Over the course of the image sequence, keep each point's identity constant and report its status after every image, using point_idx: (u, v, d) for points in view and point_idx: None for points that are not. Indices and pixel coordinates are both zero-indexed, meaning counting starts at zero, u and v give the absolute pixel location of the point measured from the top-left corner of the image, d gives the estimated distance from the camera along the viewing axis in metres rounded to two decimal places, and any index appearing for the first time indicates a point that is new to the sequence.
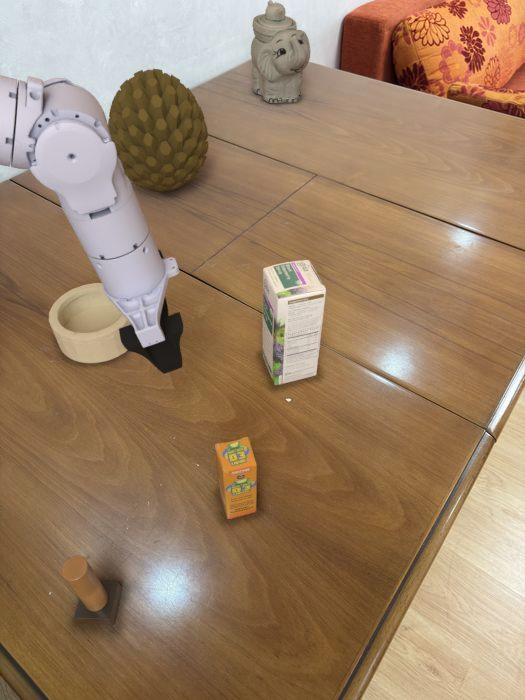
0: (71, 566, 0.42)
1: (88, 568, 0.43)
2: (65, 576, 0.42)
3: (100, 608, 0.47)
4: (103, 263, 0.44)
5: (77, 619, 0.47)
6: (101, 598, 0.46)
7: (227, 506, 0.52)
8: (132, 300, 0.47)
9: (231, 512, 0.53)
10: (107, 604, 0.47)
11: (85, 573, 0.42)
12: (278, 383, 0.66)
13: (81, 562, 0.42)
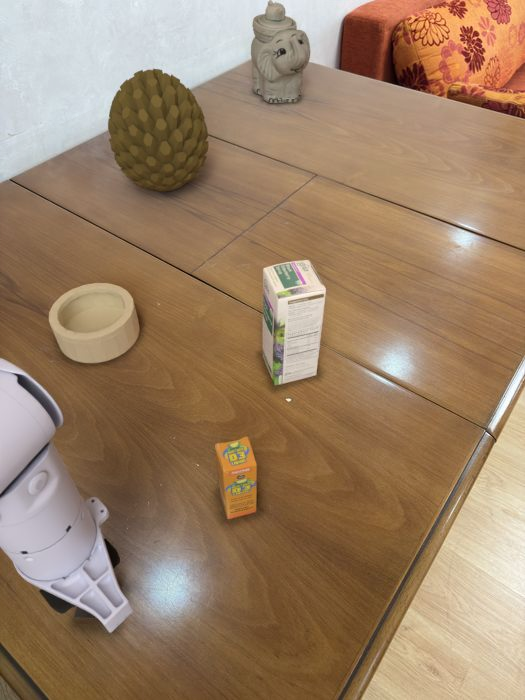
0: None
1: None
2: None
3: None
4: (36, 555, 0.34)
5: (77, 619, 0.47)
6: None
7: (227, 506, 0.52)
8: (71, 576, 0.37)
9: (231, 512, 0.53)
10: None
11: None
12: (278, 383, 0.66)
13: None
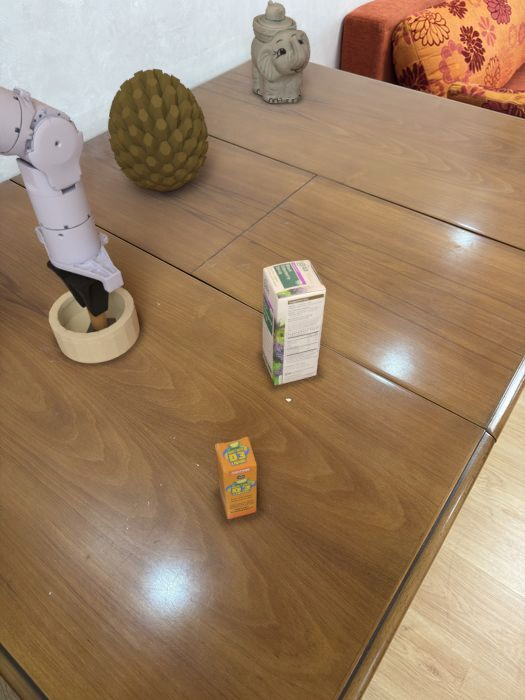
0: None
1: None
2: None
3: (103, 328, 0.70)
4: (65, 232, 0.57)
5: None
6: (104, 319, 0.69)
7: (227, 506, 0.52)
8: (85, 263, 0.60)
9: (231, 512, 0.53)
10: None
11: None
12: (278, 383, 0.66)
13: None
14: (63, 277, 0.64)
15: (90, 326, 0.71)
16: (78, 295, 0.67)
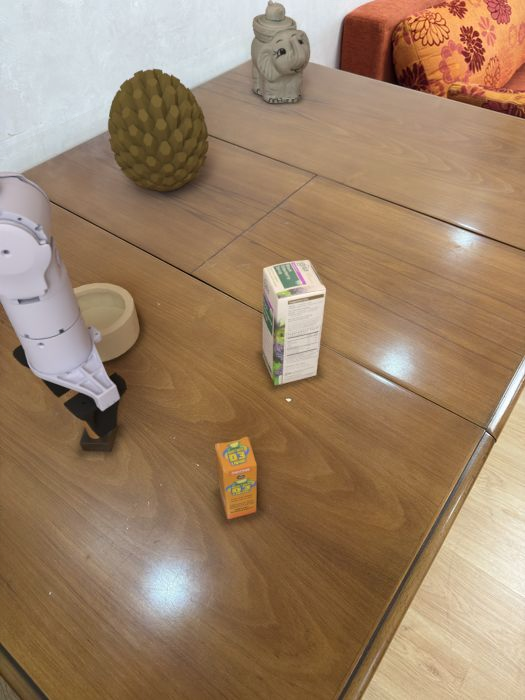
0: None
1: None
2: (73, 395, 0.54)
3: None
4: (47, 342, 0.45)
5: (82, 444, 0.59)
6: None
7: (227, 506, 0.52)
8: (72, 372, 0.48)
9: (231, 512, 0.53)
10: None
11: None
12: (278, 383, 0.66)
13: None
14: None
15: (85, 432, 0.60)
16: (52, 385, 0.56)
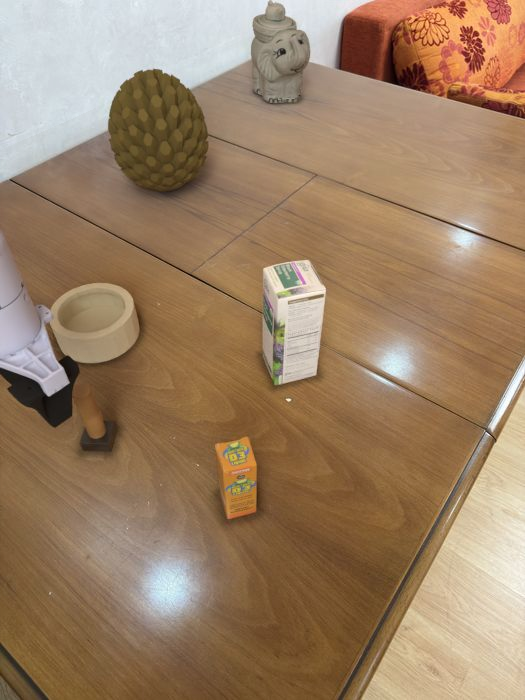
0: (77, 389, 0.55)
1: (91, 391, 0.55)
2: (73, 395, 0.54)
3: (100, 436, 0.59)
4: None
5: (82, 444, 0.59)
6: (101, 426, 0.59)
7: (227, 506, 0.52)
8: (17, 354, 0.44)
9: (231, 512, 0.53)
10: (105, 434, 0.60)
11: (88, 394, 0.54)
12: (278, 383, 0.66)
13: (85, 386, 0.55)
14: None
15: (85, 432, 0.60)
16: (3, 371, 0.52)
